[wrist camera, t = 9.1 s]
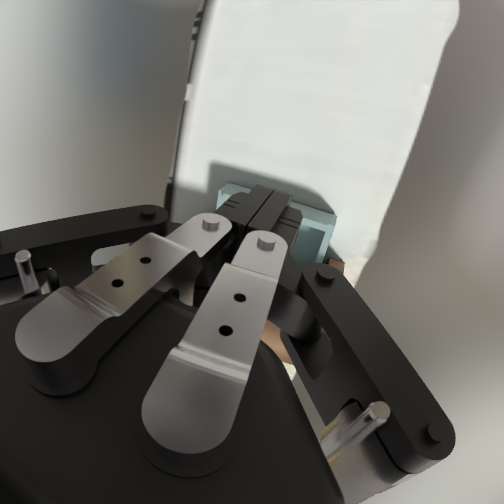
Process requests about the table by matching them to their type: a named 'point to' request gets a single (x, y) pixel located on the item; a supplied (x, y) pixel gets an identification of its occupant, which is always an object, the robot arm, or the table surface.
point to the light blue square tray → (311, 230)
